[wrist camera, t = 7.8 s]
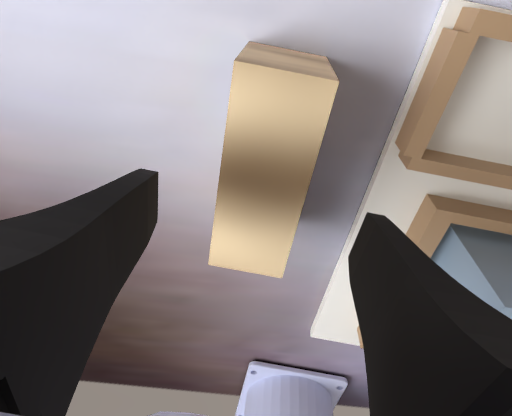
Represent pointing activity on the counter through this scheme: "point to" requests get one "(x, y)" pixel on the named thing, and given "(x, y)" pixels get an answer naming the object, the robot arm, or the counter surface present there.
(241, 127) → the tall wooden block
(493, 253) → the light blue block
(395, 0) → the counter surface
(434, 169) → the jig
